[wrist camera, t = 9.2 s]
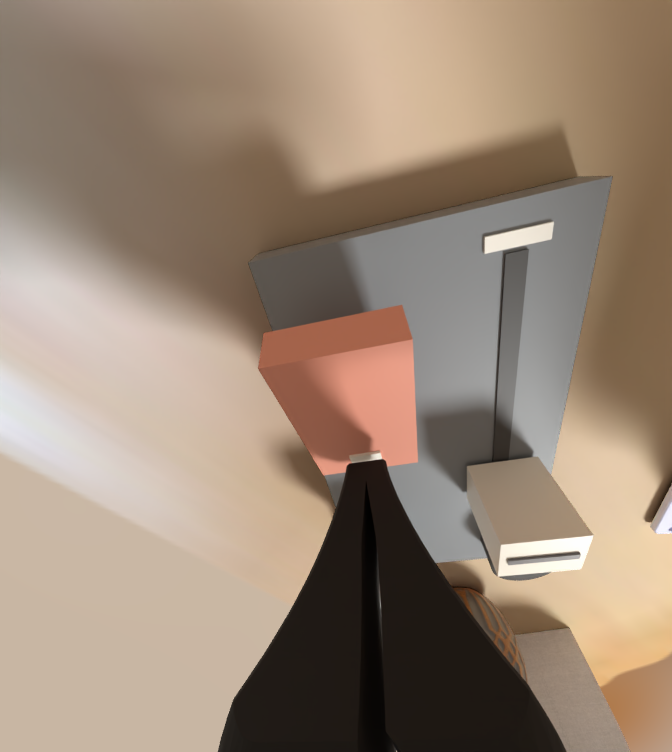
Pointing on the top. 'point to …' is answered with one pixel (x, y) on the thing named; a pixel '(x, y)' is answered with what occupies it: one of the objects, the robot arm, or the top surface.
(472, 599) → the vase
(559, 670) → the grey rectangular block
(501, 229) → the console
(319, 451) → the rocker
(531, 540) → the slotted cream block
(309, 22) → the top surface
